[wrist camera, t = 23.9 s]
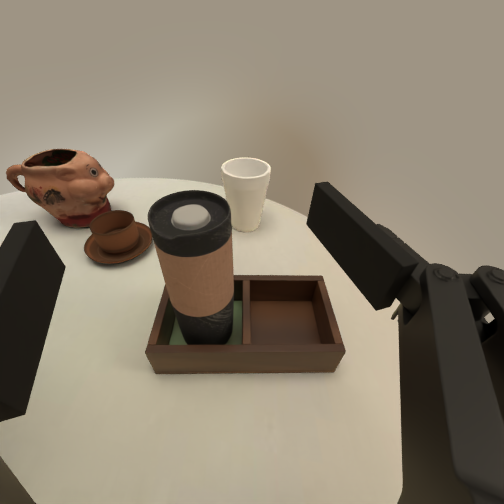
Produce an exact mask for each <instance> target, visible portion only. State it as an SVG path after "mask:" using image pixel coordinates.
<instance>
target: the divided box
mask: <svg viewBox="0 0 504 504" xmlns="http://www.w3.org/2000/svg"><path fill="white" fill-rule="evenodd" d="M233 277H234V309H233V331H232V334H231V337H230V339H229V340H228V341H227V343H226V344H225V345H187V343H186V342H185V340H184V338H183V335H182V333H181V330H180V327H179V324H178V321H177V319H176V316H175V313H174V310H173V307H172V304H171V301H170V298H169V294H168V291H167V287H166V284H165V287H164V291H163V294H162V298H161V301H160V304H159V308H158V311H157V314H156V318H155V321H154V324H153V328H152V331H151V334H150V338H149V341H148V345H147V348H146V351H145V354H146V356H147V358H148V360H149V362H150V364H151V365H152V367H153V369H154V371H155V373H156V374H197V373H306V372H334V371H335V370H336V368H337V366H338V364H339V363H340V361H341V359H342V357H343V355H344V354H345V352H346V351H345V348H344V345H343V341H342V338H341V335H340V332H339V328H338V325H337V322H336V318H335V315H334V312H333V309H332V305H331V302H330V299H329V295H328V292H327V289H326V286H325V282H324V279H323V276H288V275H233Z"/></svg>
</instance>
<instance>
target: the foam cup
mask: <svg viewBox="0 0 504 504" xmlns="http://www.w3.org/2000/svg"><path fill="white" fill-rule="evenodd" d="M270 169H271V166H270V165H269V164H268V163H267V162H264V161H262V160H259V159H255V158H235V159H231V160H228V161H226V162H225V163H223V165H222V167H221V177H222V181H223V183H224V189H225V195H226V200H227V202H228V204H229V206H230V209H231V225H232V227H233V228H234V229H236V230H237V231H242V232H250V231H253V230H256V229H257V228H258V227H259V224H260V219H261V215H262V210H263V206H264V201H265V196H266V192H267V187H268V184H269V182H270Z"/></svg>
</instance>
